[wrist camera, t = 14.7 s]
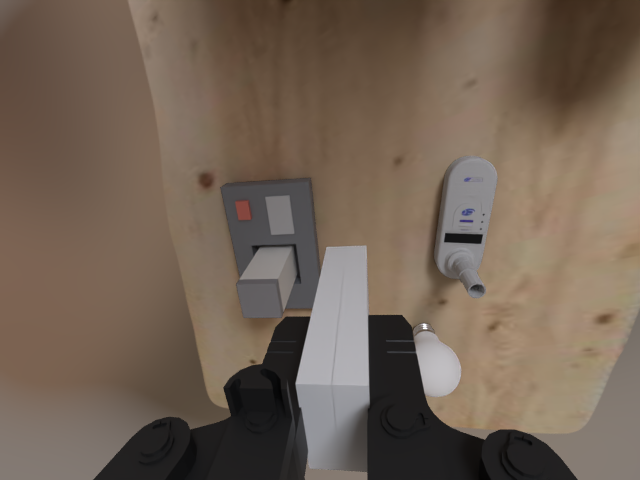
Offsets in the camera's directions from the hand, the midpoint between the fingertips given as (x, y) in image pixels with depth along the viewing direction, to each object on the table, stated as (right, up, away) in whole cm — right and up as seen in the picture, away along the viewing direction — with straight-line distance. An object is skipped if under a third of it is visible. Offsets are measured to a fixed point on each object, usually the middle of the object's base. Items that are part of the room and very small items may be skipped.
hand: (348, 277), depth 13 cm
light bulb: (+14, -11, +36) cm, 40 cm away
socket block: (-7, +1, +33) cm, 34 cm away
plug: (-7, -1, +34) cm, 34 cm away
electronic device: (+16, +4, +29) cm, 34 cm away
